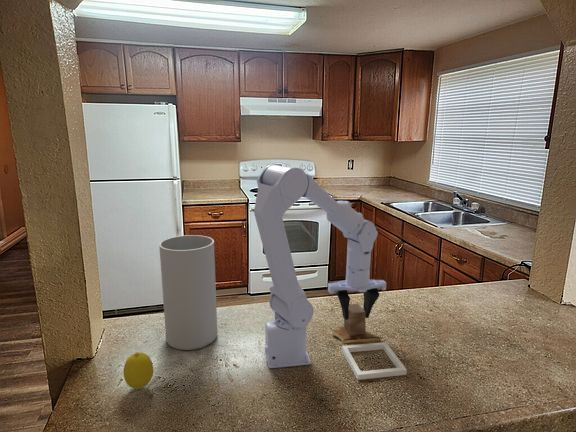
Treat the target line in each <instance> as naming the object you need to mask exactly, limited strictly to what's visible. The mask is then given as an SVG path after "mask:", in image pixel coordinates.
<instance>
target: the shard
mask: <svg viewBox="0 0 576 432" xmlns="http://www.w3.org/2000/svg"><path fill="white" fill-rule="evenodd" d="M331 335H332V336H333V337H336V338H338V339H339V340H340V342H342V344H350V343H369V342H372V343H373V342H377V341H381V340H382V339H383V337H381V336H378V335H376V334H372V333H370V332H369V331H366V334H362V335H355V336H350V335H349V333H348V332H347V330H346V328H345V327H344V324H343V325H340V326H338V327H337V329H335V330H333V331H332V333H331Z"/></svg>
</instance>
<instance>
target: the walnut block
mask: <svg viewBox="0 0 576 432" xmlns="http://www.w3.org/2000/svg"><path fill="white" fill-rule="evenodd" d="M343 325H344V327H345V328H346V330H347V332H348V333H349V335H350V336H355V335H362V334H366V332H367V331H366V330H367V329H366V325H367V324H366V317H365V311H364V310H363V307H362V306H361V305H360V303H351V304H350V303H349V308H348V320H345V319H344V318H343Z"/></svg>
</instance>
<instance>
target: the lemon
mask: <svg viewBox="0 0 576 432" xmlns="http://www.w3.org/2000/svg"><path fill="white" fill-rule="evenodd" d="M153 374H154V364H153V361H152V359H151V358H150V356H149V355H148V354H146V353H144V352H140V351H139V352H138V351H136V352H135V353H132V354H131V355H129V357H128V358H126V361H125V363H124V366H123V378H124V381H125V383H126V384H127V385H128V386H129V387H130V388H133V389H139V390H140V389H142V388H144V387H146V386H147V385H149V383H150V382H151V380H152V378H153Z"/></svg>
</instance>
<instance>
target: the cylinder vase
mask: <svg viewBox="0 0 576 432" xmlns="http://www.w3.org/2000/svg"><path fill="white" fill-rule="evenodd" d="M158 247H159V257H160V258H159V259H160V271H161V272H160V273H161V275H160V276H161V288H162V301H163V315H164V326H165V327H164V329H165V340H166V342H167V344H168V345H169V346H170V347H171V348H174V349H176V350H181V351H192V350H197V349H202V348H204V347H206V346H208V345H210V344H211V343H213V342H214V340H216V338H217V336H218V316H217V315H218V314H217V290H216V289H217V288H216V287H217V286H216V264H215V263H216V262H215V260H216V259H215V240H214V239H213V238H212V237H210V236H205V235H199V234H196V235H195V234H194V235H193V234H190V235H189V234H186V235H179V236H178V235H177V236H173V237H169V238H166V239H164V240H162V241H161V242H159V245H158Z"/></svg>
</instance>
